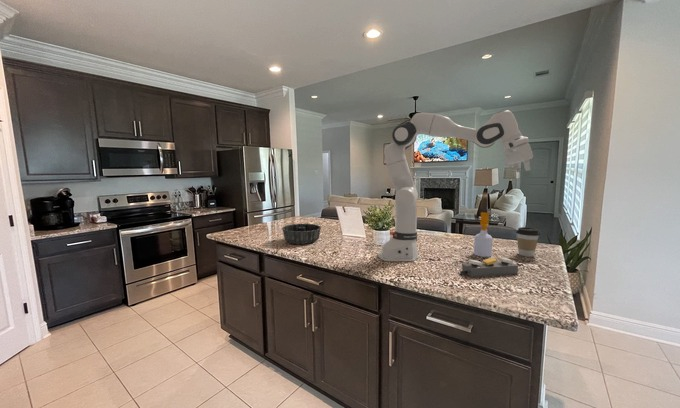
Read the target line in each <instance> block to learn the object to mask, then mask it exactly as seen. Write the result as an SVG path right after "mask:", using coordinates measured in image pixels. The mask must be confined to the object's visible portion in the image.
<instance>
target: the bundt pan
mask: <svg viewBox="0 0 680 408" xmlns="http://www.w3.org/2000/svg"><path fill="white" fill-rule="evenodd" d="M281 230H282V234H283V238H284V240H285V241H286V242H287V243H289V244H293V245H295V244H296V245H305V244H306V245H309V244H310V243H315V242H317V241H318V240H319V239H320V234H321V230H322V226H321V225H319V224H315V223H293V224H288V225H284V226H282V228H281Z"/></svg>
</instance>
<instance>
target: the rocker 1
mask: <svg viewBox="0 0 680 408" xmlns="http://www.w3.org/2000/svg"><path fill="white" fill-rule="evenodd" d="M467 262H468V263H472V264H476V265H482V264H483V263H482V262H483V261H482V262H481V261H479V260H475V259H468V261H467Z"/></svg>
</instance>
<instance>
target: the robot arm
mask: <svg viewBox="0 0 680 408" xmlns="http://www.w3.org/2000/svg"><path fill="white" fill-rule="evenodd" d="M419 135H425V136H428V137H434V138H435V137H436V138H456V139H459V140H465V141H467V142H468V141H469V142H472V143H474V144H475V145H477V146H478V147H480V148H484V149H485V148H490V147H492V146H493V145H494V144H495V143H496V142H497V141H500V144H501V147H502V149H503V151H504V152H503V153H504V157H505V160H506V164H507V165H508V166H510V165H511V166H512V167H513V169H514V170H515V172H516V173H521V172H522V168H521V167H520V166H519V163H522V164H523V166H524V167H523V169H524V171H526V172H528V171H531V169H532V168H531V166H530V165H531V161H530V160H532V159H533V158H534V154H533V151H532V150H533V149H532V148H531V144H530V143H529V142H530V140H529V137H527V136H523V135H522V132H521V131H520V129H519V123H518V121H517V119H516V117H515V115H514V113H513V112H512V111H510V110H501V111H497V112H495V113H494V114H492V116H491V118H490V119H488V121H486V122H485V124H483V125H482V126H480V127H479V128H472V127H468V126H467V127H466V126H463V125H459V124H457V123H455V122H454V121H453V120H452V119H451V118H450V117H448V116H445V115H443V114H439V113H433V112H431V113H430V112H417V113H415V114H414V115H413V116H412V117H411V121H408V122H405V123H401V124H398V125H397V126H395V127H394V129H393V130H392V134H391V136H392V137H391V138H392V140H393V141H392V142H391V143H388V144H386V145H385V147H384V148H383V152H384V160H385V164H386V169H387V172H388V174H389V178H390V180H391V183H392V186H393V187H394V189H395V197H394V199H395V216H396V217H395V219H396V220H395V231H392V230H390V232H389V235H391V236H392V237H391V238H390V239H389V240H388V241H387V242H385V243H383V245H382V248H381V251H380V252H378V253H377V257H378V258H379V259H381V260H382V261H385V262H415V261H416V260H417V259H419V253H418V252H419V251H418V246H417V245H418V243H417V241H418V231H417V226H418V225H417V223H418V216H417V210H418V209H417V205H418V204H417V201H418V198H419V194H418V189H417V187H416V185H415V182H414V179H413V175H412V173H411V170H410V167H409V164H408V161H407V157H406V152H405V150H407V149H408V148H409V147H411V146H412V145H413V144H415V143H416V140H417V136H419Z"/></svg>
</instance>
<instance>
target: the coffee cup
mask: <svg viewBox="0 0 680 408" xmlns="http://www.w3.org/2000/svg"><path fill="white" fill-rule="evenodd" d="M515 233H516V236H517V238H516V239H517V253H518V255H519V256H522V257H526V258H527V257H528V258H529V257H530V258H531V257H534V256H535V253H536V250H537V245H538V240H539V236H540V234H541V233H540V231H539V230H538V229H537V228H533V227H527V226H526V227H524V226H522V227H521V226H519V227H518V229H516V231H515Z"/></svg>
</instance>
